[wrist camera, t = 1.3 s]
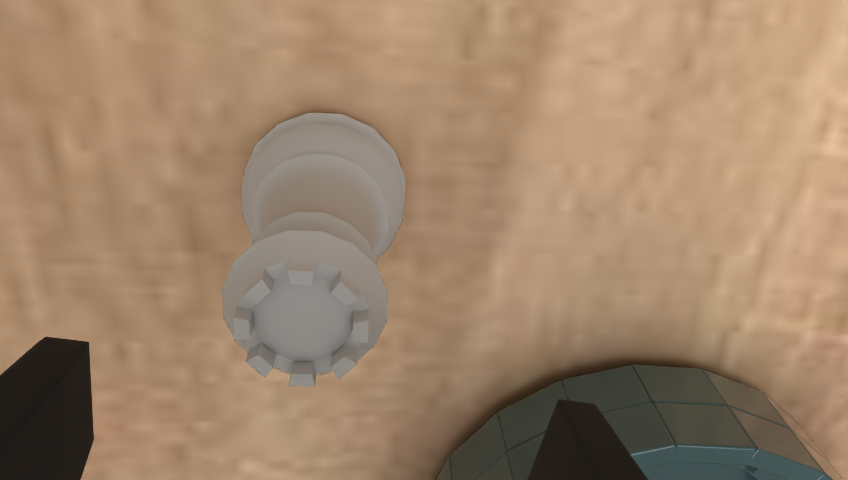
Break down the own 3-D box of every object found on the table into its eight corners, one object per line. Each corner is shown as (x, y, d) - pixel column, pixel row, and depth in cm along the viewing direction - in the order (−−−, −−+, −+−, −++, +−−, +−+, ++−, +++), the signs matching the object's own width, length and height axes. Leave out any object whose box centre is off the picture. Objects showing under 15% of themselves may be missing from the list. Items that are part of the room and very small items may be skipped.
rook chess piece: (423, 128, 21) (448, 248, 14) (385, 271, 23) (390, 445, 16) (259, 89, 21) (196, 195, 13) (233, 240, 22) (164, 407, 15)
